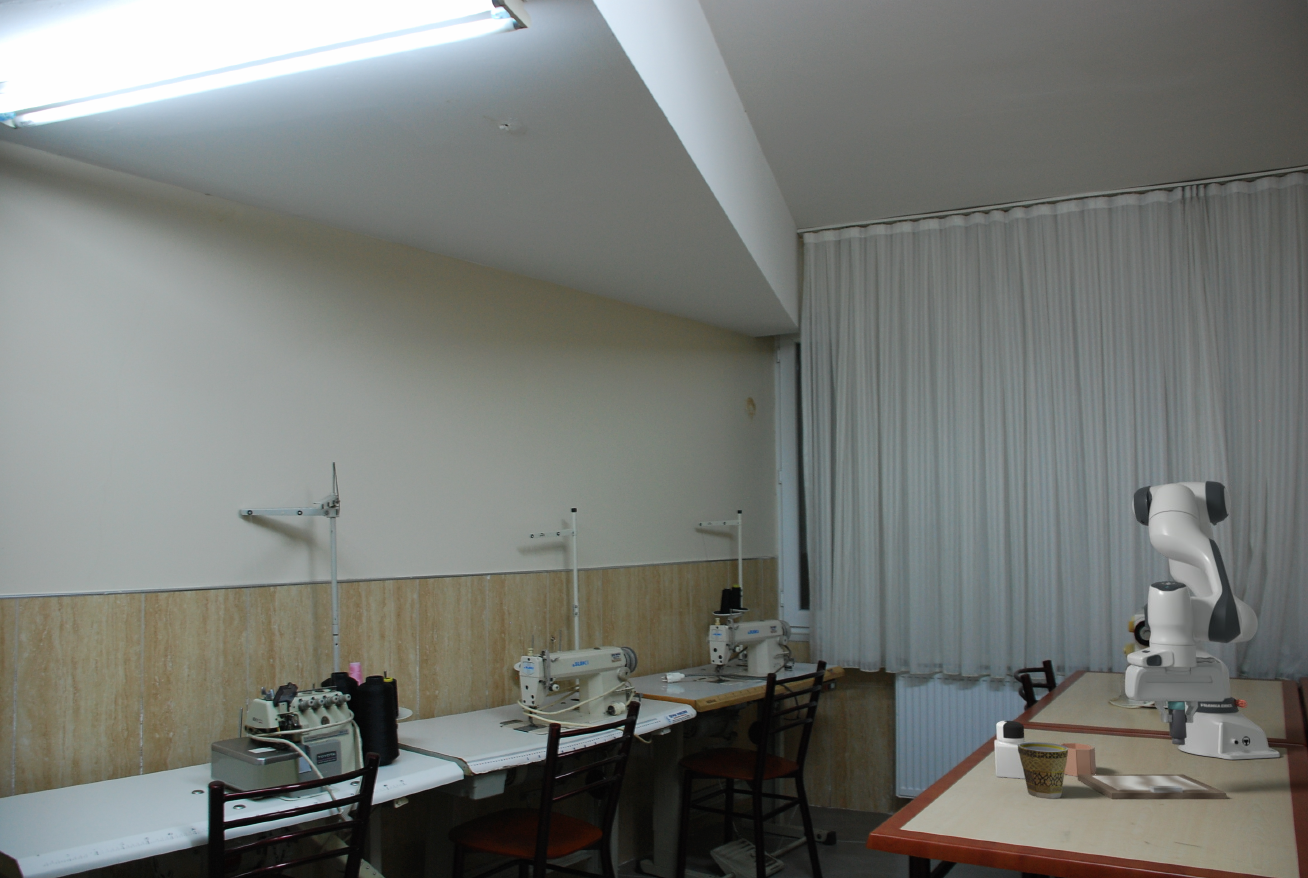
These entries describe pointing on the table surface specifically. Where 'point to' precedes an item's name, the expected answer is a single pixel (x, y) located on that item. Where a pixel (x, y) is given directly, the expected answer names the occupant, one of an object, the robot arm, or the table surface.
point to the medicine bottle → (1009, 749)
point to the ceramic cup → (1043, 768)
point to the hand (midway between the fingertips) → (1177, 722)
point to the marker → (1177, 722)
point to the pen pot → (1080, 759)
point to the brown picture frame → (1151, 787)
